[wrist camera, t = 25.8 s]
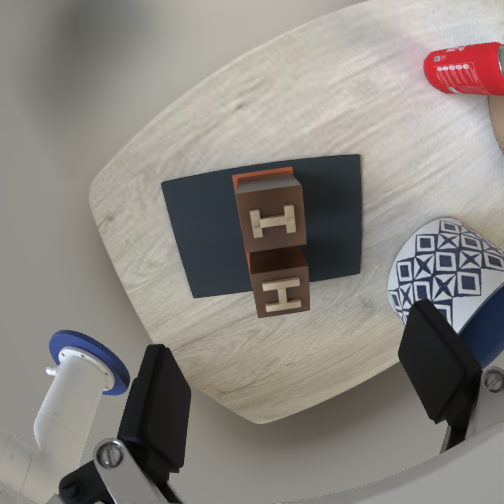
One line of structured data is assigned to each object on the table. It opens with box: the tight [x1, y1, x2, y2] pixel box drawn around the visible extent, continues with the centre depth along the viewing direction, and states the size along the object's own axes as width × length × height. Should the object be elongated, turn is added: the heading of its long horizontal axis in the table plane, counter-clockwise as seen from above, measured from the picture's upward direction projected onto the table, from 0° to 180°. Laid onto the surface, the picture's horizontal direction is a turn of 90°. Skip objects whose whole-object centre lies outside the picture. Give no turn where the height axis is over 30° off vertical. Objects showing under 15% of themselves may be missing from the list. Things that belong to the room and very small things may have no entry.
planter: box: [387, 218, 504, 370], centre depth 25 cm, size 16×16×14 cm
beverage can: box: [423, 42, 504, 96], centre depth 14 cm, size 5×5×12 cm
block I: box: [236, 171, 307, 253], centre depth 23 cm, size 5×5×6 cm
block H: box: [249, 245, 310, 318], centre depth 27 cm, size 5×5×6 cm
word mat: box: [161, 154, 361, 298], centre depth 28 cm, size 20×14×1 cm
